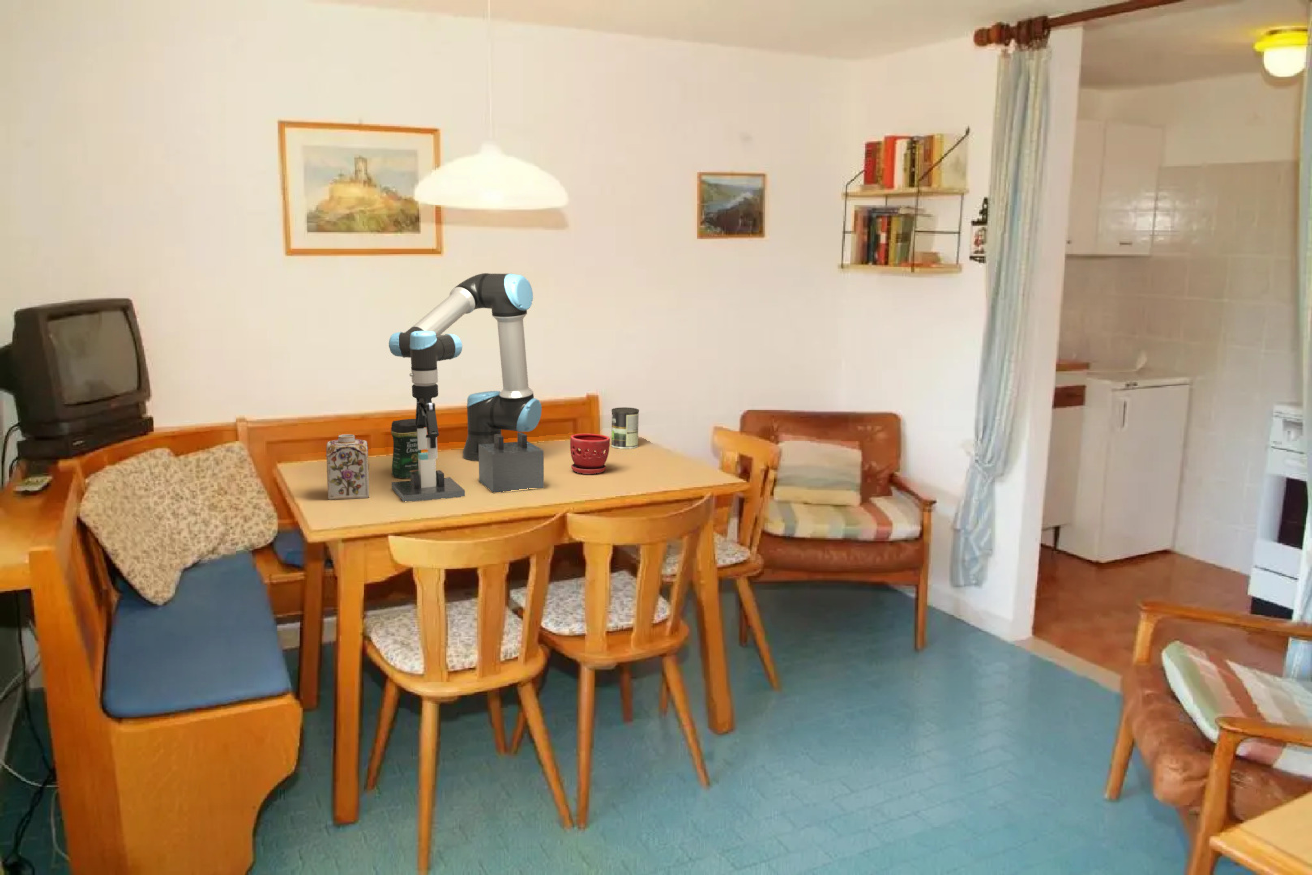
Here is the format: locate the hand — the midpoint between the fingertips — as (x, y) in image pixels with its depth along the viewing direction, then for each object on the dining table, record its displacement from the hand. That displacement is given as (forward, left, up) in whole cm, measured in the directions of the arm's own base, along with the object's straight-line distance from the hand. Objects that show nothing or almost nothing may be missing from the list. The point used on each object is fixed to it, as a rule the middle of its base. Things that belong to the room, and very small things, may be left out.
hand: (427, 454), depth 296 cm
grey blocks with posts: (0, +13, -12) cm, 17 cm away
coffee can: (-44, +84, -12) cm, 95 cm away
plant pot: (-9, +56, -12) cm, 58 cm away
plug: (0, 0, -10) cm, 10 cm away
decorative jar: (-6, -22, -12) cm, 26 cm away
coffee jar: (-24, -1, -12) cm, 27 cm away
